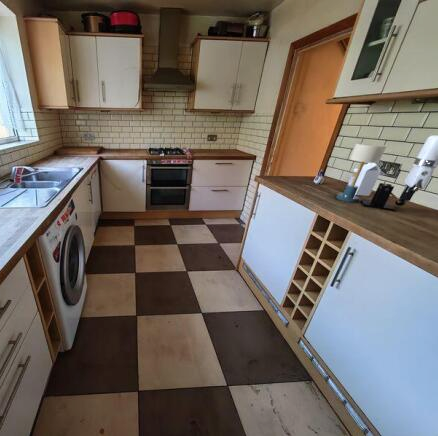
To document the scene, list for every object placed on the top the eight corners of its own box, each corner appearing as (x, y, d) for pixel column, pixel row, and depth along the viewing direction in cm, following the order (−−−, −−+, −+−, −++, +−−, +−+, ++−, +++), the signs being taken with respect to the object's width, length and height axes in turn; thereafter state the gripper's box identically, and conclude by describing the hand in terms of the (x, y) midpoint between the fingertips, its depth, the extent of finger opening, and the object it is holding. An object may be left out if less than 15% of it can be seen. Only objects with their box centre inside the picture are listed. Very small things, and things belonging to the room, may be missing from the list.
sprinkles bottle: (351, 188, 149) (359, 168, 143) (356, 190, 144) (366, 169, 139) (344, 188, 149) (352, 167, 143) (349, 190, 144) (358, 169, 139)
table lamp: (358, 198, 131) (382, 144, 118) (362, 204, 122) (389, 147, 109) (332, 194, 137) (353, 142, 124) (335, 200, 128) (357, 144, 115)
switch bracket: (388, 205, 122) (400, 184, 116) (394, 211, 115) (406, 189, 110) (360, 201, 127) (369, 180, 122) (363, 206, 120) (373, 184, 115)
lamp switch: (397, 205, 118) (406, 201, 116) (400, 208, 115) (408, 203, 113) (378, 187, 119) (386, 183, 117) (380, 189, 116) (388, 184, 114)
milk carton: (355, 195, 136) (369, 163, 128) (349, 191, 143) (362, 161, 135) (369, 196, 135) (384, 164, 127) (362, 192, 141) (376, 162, 133)
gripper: (445, 167, 99) (420, 206, 107) (429, 161, 111) (408, 197, 119) (421, 164, 102) (399, 202, 110) (408, 159, 114) (389, 194, 122)
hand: (404, 199), depth 114 cm, fingers closed
